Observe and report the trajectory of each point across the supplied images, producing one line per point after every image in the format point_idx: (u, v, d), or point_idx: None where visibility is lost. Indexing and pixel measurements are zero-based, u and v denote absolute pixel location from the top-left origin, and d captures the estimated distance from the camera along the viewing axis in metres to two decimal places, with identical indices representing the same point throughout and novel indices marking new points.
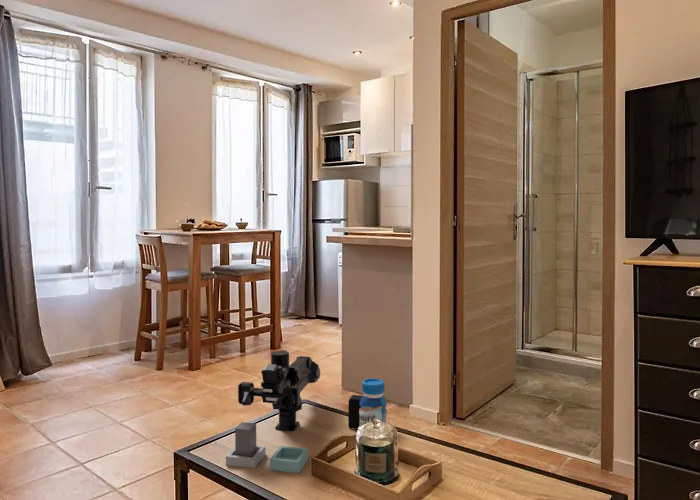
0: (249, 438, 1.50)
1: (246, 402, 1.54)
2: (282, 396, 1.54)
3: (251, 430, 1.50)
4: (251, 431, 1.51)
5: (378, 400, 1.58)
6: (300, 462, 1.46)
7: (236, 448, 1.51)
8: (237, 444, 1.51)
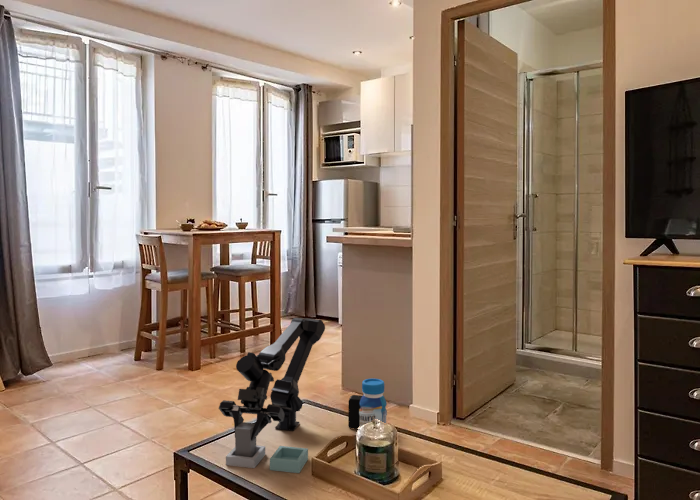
0: (249, 438, 1.50)
1: None
2: (258, 423, 1.52)
3: (251, 430, 1.50)
4: (251, 431, 1.51)
5: (378, 400, 1.58)
6: (300, 462, 1.46)
7: (236, 448, 1.51)
8: (237, 444, 1.51)
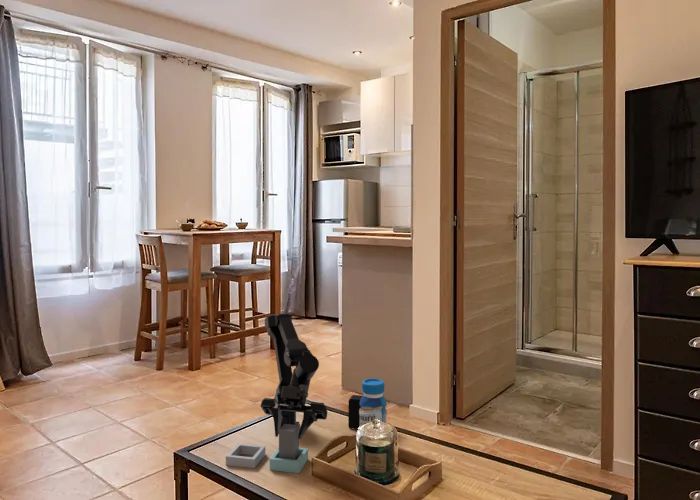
0: (293, 440, 1.47)
1: (278, 429, 1.51)
2: (304, 421, 1.49)
3: (295, 432, 1.48)
4: (295, 433, 1.48)
5: (378, 400, 1.58)
6: (300, 462, 1.46)
7: (280, 450, 1.48)
8: (281, 446, 1.48)
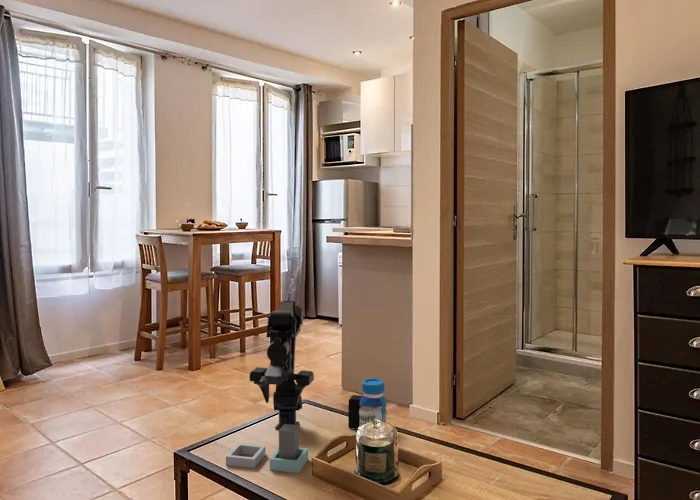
0: (293, 440, 1.47)
1: (268, 394, 1.62)
2: (298, 392, 1.58)
3: (295, 432, 1.48)
4: (295, 433, 1.48)
5: (378, 400, 1.58)
6: (300, 462, 1.46)
7: (280, 450, 1.48)
8: (281, 446, 1.48)
